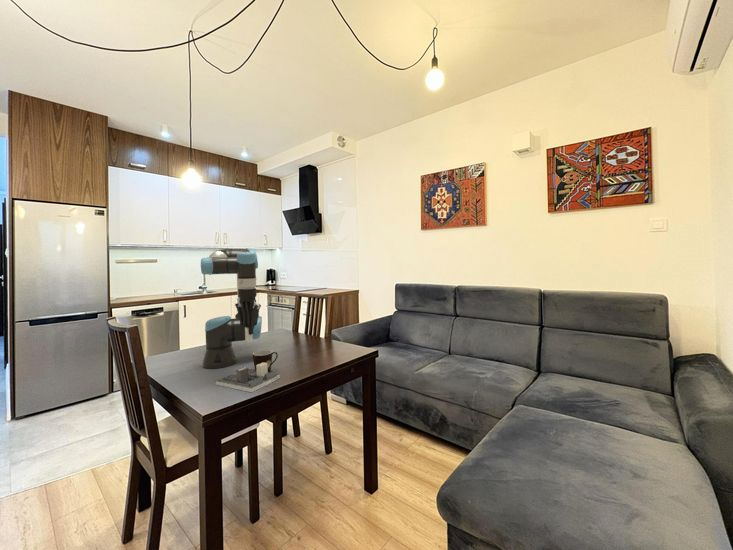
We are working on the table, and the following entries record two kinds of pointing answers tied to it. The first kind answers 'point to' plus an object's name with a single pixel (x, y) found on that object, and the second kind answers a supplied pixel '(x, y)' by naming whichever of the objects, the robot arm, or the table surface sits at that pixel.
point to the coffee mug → (264, 358)
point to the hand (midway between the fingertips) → (249, 341)
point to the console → (249, 381)
